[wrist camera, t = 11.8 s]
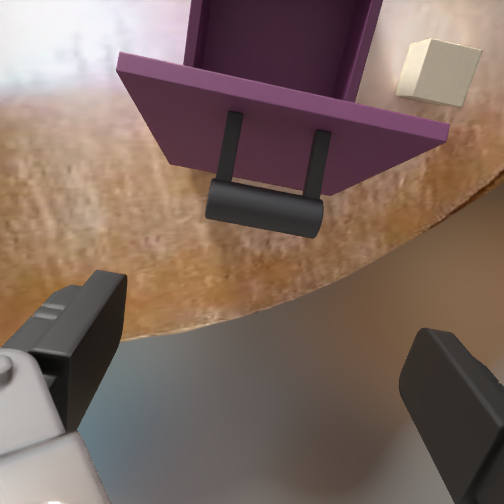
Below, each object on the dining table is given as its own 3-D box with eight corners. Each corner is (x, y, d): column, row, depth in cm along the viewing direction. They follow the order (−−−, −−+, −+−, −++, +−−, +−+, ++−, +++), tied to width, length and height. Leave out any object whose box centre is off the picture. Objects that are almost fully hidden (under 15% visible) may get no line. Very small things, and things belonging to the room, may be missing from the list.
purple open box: (210, -55, 33) (202, -86, 27) (368, -16, 34) (393, -38, 29) (182, 148, 39) (171, 158, 33) (318, 175, 40) (330, 190, 35)
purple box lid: (119, 50, 16) (92, 193, 16) (450, 123, 17) (426, 256, 17) (171, 154, 33) (158, 222, 33) (332, 186, 34) (320, 252, 34)
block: (410, 43, 36) (431, 37, 32) (456, 54, 37) (483, 50, 32) (394, 95, 38) (412, 96, 34) (438, 105, 38) (462, 107, 34)
